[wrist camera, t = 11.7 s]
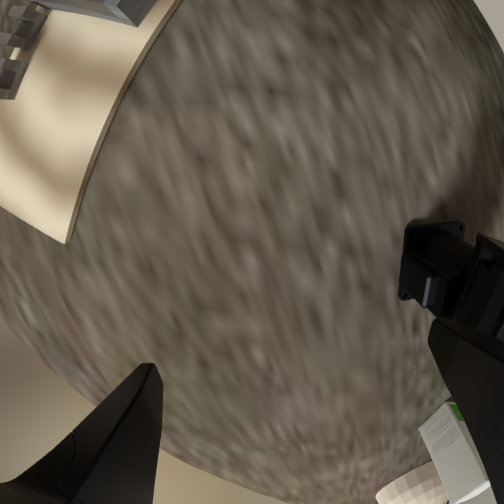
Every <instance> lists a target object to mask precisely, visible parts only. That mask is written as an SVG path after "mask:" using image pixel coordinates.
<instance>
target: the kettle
mask: <svg viewBox="0 0 504 504" xmlns="http://www.w3.org/2000/svg"><path fill="white" fill-rule="evenodd" d="M376 499H377V501H378V503H379V504H445V503H446V502H447V504H448V503H449V499H448V496H447V494H446V491H445V489H444V486H443V484H442V481H441V479H440V476H439V474H438V471H437V469H436V467H435V464H434V462H433V460H432V461H430V462H427V463H425V464H423V465H421V466H419V467H417V468H415V469H413V470H411V471H409V472H407V473H405V474H404V475H402V476H400V477H398V478H397V479H395V480H393V481H392V482H390V483H389V484H387V485H386V486H384V487H383V488H382V489H381V490H380V491H379V492H378V493H377V494H376Z"/></svg>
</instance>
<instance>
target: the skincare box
mask: <svg viewBox="0 0 504 504" xmlns="http://www.w3.org/2000/svg"><path fill="white" fill-rule="evenodd" d="M418 429H419V431H420V433H421V435H422V437H423V439H424V442H425V444H426V446H427V448H428V451H429V453H430V455H431V457H432V460H433V462H434V464H435V467H436V469H437V471H438V474H439V476H440V479H441V481H442V484H443V486H444V489H445V491H446V494H447V496H448V499H449V501H450V504H458V503H460V502H463V501H466V500H468V499H470V498H472V497H474V496H476V495H478V494H480V493H481V492H482V491H484V490H485V489H486V488H488V487H489V486H490V482H489V479H488V477H487V474H486V471H485V468H484V466H483V463H482V461H481V458H480V456H479V454H478V451H477V449H476V446H475V444H474V442H473V440H472V437H471V435H470V433H469V431H468V429H467V426H466V424H465V422H464V420H463V418H462V416H461V414H460V412H459V410H458V408H457V406H456V404H455V402H447V401H445V402H444V403H443V404H442V405H441V406H440V407H439V408H438V409H437V410H436V411H435V412H434V413H433V414H432V415H431V416H430V417H429V418H428V419H427V420H426V421H425V422H424V423H423V424H422V425H421V426H420V427H419V428H418Z"/></svg>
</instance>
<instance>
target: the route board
mask: <svg viewBox="0 0 504 504" xmlns="http://www.w3.org/2000/svg"><path fill="white" fill-rule="evenodd" d="M29 1H31V2H33V3H35V4H37V5H38V7H37V8H36V10H33V9H31V8H29V7H25V6H12V8H11V10H10V11H9V13H8V16H11V17H13V18H16V19H19V20H21V23H20V25H19V27H18V28H17V30H16V32H15V34H14V35H13V34H8V33H1V32H0V44H4V45H8V46H12V47H15V49H14V51H13V53H12V56H11V58H10V59H8V58H3V57H0V69H2V70H3V71H2V74H1V76H0V206H2V207H3V208H5V209H6V210H8V211H9V212H11V213H12V214H14V215H16V216H17V217H19V218H20V219H22V220H24V221H25V222H27V223H29V224H30V225H32V226H34V227H35V228H37V229H39V230H40V231H42V232H44V233H45V234H47V235H49V236H50V237H52V238H54V239H56V240H57V241H59V242H61V243H63V244H66V243H67V242H68V241H70V240H71V236H72V232H73V228H74V225H75V221H76V217H77V214H78V210H79V207H80V204H81V201H82V197H83V194H84V191H85V188H86V185H87V182H88V179H89V176H90V174H91V171H92V168H93V165H94V163H95V160H96V157H97V155H98V152H99V150H100V147H101V145H102V142H103V140H104V137H105V135H106V133H107V130H108V128H109V126H110V124H111V121H112V119H113V117H114V115H115V113H116V110H117V108H118V106H119V104H120V102H121V100H122V98H123V96H124V94H125V92H126V90H127V88H128V86H129V84H130V82H131V80H132V79H133V77H134V75H135V73H136V71H137V69H138V68H139V66H140V64H141V62H142V61H143V59H144V57H145V55H146V54H147V52H148V50H149V49H150V47H151V46H152V44H153V42H154V41H155V39H156V38H157V36H158V34H159V33H160V31H161V30H162V28H163V27H164V25H165V24H166V22H167V21H168V19H169V18H170V16H171V15H172V14H173V12H174V11H175V9H176V8H177V7H178V5H179V4H180V3H181V1H182V0H29Z"/></svg>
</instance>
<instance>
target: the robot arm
mask: <svg viewBox="0 0 504 504" xmlns="http://www.w3.org/2000/svg"><path fill="white" fill-rule="evenodd" d="M459 227H460V228H459ZM464 229H465V225H464V223H462V222H460V221H455V222H445V223H436V224H427V225H417V226H409V227H407V228H406V230H405V233H404V246H403V254H402V258H401V268H400V276H399V283H400V284H399V292H398V297H399V298H400V299H401V300H402V301H405V300H410V299H415V300H416V301H417V302H418V303H419V304H420V305H421V306H422V307H423V308H428V309H429V311H430V312H431V313H432V314H433V315H434V316H435V317H436V319H434V320H433V322H432V325H431V329H430V332H429V336H428V345H429V347H430V350H431V352H432V354H433V357H434V359H435V361H436V364H437V366H438V368H439V371H440V373H441V376H442V378H443V380H444V382H445V384H446V386H447V388H448V390H449V392H450V394H451V396H452V398H453V400H454V402H455V404H456V406H457V408H458V410H459V412H460V414H461V416H462V418H463V420H464V422H465V424H466V426H467V429H468V431H469V433H470V435H471V437H472V440H473V442H474V444H475V446H476V449H477V451H478V454H479V456H480V458H481V461H482V463H483V466H484V468H485V471H486V474H487V477H488V479H489V482H490V485H491V488H492V490H493V493H494V496H495V499H496V502H497V504H504V242H502V241H500V240H497V239H494V238H492V237H489V236H486V235H483V234H481V233H478V234H477V237H476V244H475V247H474V246H472V245H471V244H469V243H467V242H466V241H464V240H463V237H464ZM411 231H412V234H411V235H410V232H411ZM403 294H405V295H404V296H403ZM162 410H163V382H162V379H161V377H160V374H159V372H158V370H157V367H156V365H155V364H154V363H142V364H140V365H139V366H138V367H137V368H136V369H135V370H134V371H133V372H132V373H131V374H130V375H129V376H128V377H127V378H126V379H125V380H124V381H123V382H122V383H121V384H120V385H119V386H118V387H117V388H116V389H115V390H114V391H112V392H111V393H110V394H109V395H108V396H107V397H106V398H105V399H104V400H103V401H102V402H101V403H100V404H99V405H98V406H97V407H96V408H95V409H94V410H93V411H92V412H91V413H90V414H89V415H88V416H87V417H86V418H85V419H84V420H83V421H82V422H81V423H80V424H79V425H78V426H77V427H76V428H75V429H74V430H73V431H72V432H73V433H72V432H71V433H69V435H67V436H66V437H65V438H64V439H63V440H62V441H61V442H60V443H59V444H58V445H57V446H56V447H55V448H54V449H52V450H51V451H50V452H49V453H47V455H45V456H44V457H43V458H42V459H40V460H39V461H37V462H36V463H35V464H34V465H32V466H31V467H30V468H28V469H27V470H26V471H24V472H23V473H22V474H21V475H19V476H18V477H16V478H15V479H13V480H11V481H8V482H4V483H0V504H152V502H153V494H154V485H155V477H156V469H157V461H158V454H159V446H160V439H161V432H162Z"/></svg>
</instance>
